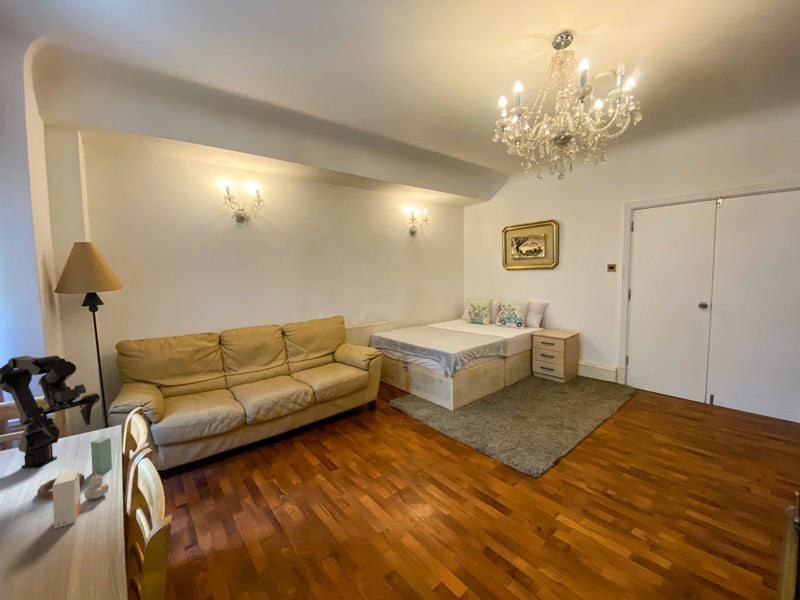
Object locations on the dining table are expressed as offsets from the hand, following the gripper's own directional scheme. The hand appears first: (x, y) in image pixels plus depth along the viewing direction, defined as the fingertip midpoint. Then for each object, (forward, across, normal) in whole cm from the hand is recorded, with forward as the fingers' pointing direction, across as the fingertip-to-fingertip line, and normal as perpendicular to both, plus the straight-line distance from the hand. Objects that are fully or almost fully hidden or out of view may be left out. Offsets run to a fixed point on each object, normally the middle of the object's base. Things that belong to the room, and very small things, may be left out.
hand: (71, 430), depth 109 cm
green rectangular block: (+16, +6, +5) cm, 18 cm away
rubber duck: (+25, -3, -8) cm, 26 cm away
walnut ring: (+16, -5, +5) cm, 17 cm away
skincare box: (+27, -11, -11) cm, 31 cm away
